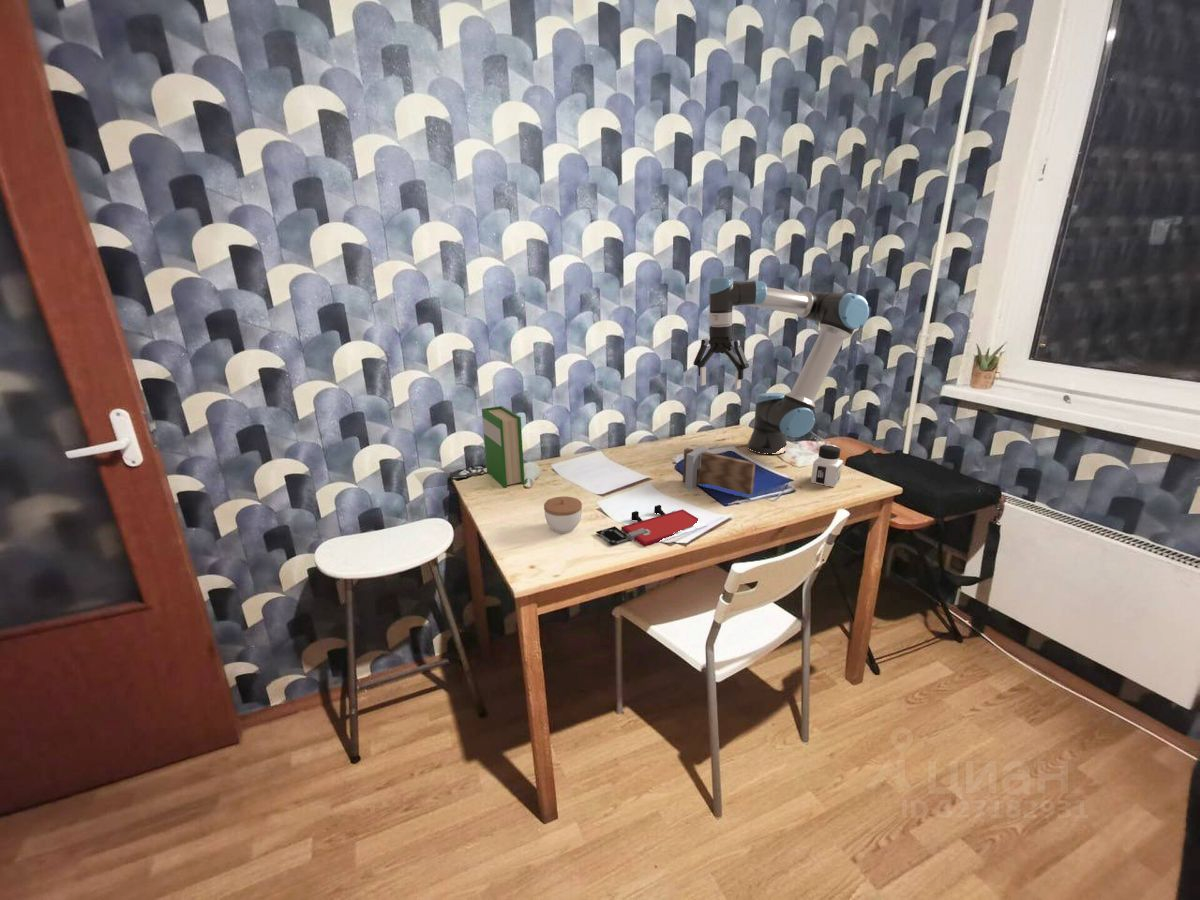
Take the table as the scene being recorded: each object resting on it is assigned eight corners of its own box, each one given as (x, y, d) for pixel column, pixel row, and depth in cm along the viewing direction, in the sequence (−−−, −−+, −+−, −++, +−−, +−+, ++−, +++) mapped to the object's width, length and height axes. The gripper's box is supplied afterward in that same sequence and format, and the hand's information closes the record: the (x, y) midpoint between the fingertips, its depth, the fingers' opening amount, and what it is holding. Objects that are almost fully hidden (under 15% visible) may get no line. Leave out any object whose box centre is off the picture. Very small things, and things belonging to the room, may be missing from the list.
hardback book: (524, 483, 185) (520, 417, 177) (504, 488, 181) (499, 420, 173) (506, 468, 199) (501, 406, 191) (487, 472, 196) (481, 408, 188)
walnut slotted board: (682, 482, 185) (684, 449, 181) (685, 480, 186) (686, 447, 182) (749, 499, 170) (753, 464, 167) (752, 497, 172) (755, 462, 168)
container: (833, 488, 179) (839, 451, 174) (810, 483, 183) (815, 447, 179) (840, 481, 184) (845, 445, 180) (817, 476, 189) (821, 441, 185)
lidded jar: (537, 528, 153) (535, 498, 150) (565, 516, 160) (564, 488, 157) (561, 541, 146) (560, 510, 143) (590, 528, 153) (589, 498, 150)
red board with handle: (592, 532, 151) (621, 556, 139) (592, 523, 150) (621, 546, 138) (674, 508, 166) (707, 528, 154) (675, 500, 165) (708, 519, 153)
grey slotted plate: (685, 487, 180) (686, 454, 176) (699, 478, 187) (700, 446, 183) (691, 489, 179) (693, 456, 175) (705, 480, 186) (707, 448, 182)
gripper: (683, 325, 185) (684, 385, 192) (749, 327, 169) (748, 392, 176) (694, 323, 191) (695, 381, 197) (760, 324, 175) (758, 388, 181)
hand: (720, 387), depth 187 cm, fingers open, 13 cm apart
